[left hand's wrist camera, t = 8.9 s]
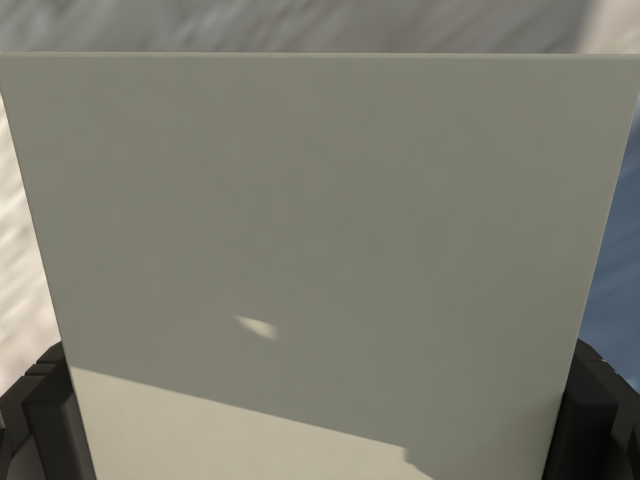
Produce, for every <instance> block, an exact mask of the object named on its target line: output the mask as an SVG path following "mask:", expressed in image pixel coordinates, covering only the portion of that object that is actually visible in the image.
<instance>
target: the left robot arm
mask: <svg viewBox="0 0 640 480" xmlns="http://www.w3.org/2000/svg"><path fill="white" fill-rule="evenodd" d="M0 480H96V478H95V474H94V470H93V466H92V462H91V458H90V454H89V450H88V446H87V442H86V438H85V434H84V430H83V426H82V422H81V417H80V413H79V409H78V405H77V401H76V397H75V393H74V390H73V386H72V381H71V377H70V373H69V369H68V365H67V361H66V357H65V353H64V349H63V345H62V341H60V342H58V343H56V344H55V345H53V346H51V347H50V348H49V349H48V350H47V351H46V352H45V353H44V354H43V355H42V356H41V357H40V358H39V359H38V360H37V361H36V364H33V365H32V366H31V367H30V368H29V369H28V370H27V371H26V372H25V375H24V376H21V377H20V378H19V379H18V380H17V381H16V382H15V383H14V384H13V385H12V386H11V387H10V388H9V389H8V390H7V391H6V392H5V393H4V394H3V395H2V396H1V397H0ZM542 480H640V395H639V394H638V393H637V392H636V391H635V390H634V389H633V388H632V387H631V386H630V385H629V384H628V383H627V382H626V381H625V380H624V379H623V378H622V377H621V376H620V375H619V374H616V371H615V370H614V369H613V368H612V367H611V366H610V365H609V364H608V363H605V362H604V359H603V358H602V357H601V356H600V355H599V354H598V353H597V352H596V351H595V350H594V349H593V348H592V347H591V346H590V345H588V344H586V343H585V342H583V341H581V340H580V339H578V338H577V342H576V346H575V350H574V354H573V358H572V361H571V365H570V369H569V373H568V377H567V381H566V385H565V389H564V393H563V397H562V401H561V405H560V409H559V413H558V417H557V421H556V425H555V429H554V433H553V437H552V441H551V445H550V449H549V453H548V457H547V460H546V464H545V468H544V472H543V476H542Z"/></svg>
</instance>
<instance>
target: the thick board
mask: <svg viewBox="0 0 640 480" xmlns="http://www.w3.org/2000/svg"><path fill="white" fill-rule="evenodd" d="M0 90H1V94H2V99H3V103H4V107H5V111H6V115H7V119H8V123H9V127H10V131H11V135H12V140H13V144H14V148H15V152H16V156H17V160H18V164H19V168H20V172H21V176H22V181H23V185H24V189H25V193H26V197H27V201H28V205H29V209H30V213H31V217H32V222H33V226H34V230H35V234H36V238H37V242H38V246H39V250H40V254H41V258H42V263H43V267H44V271H45V275H46V279H47V283H48V287H49V291H50V295H51V299H52V304H53V308H54V312H55V316H56V320H57V324H58V328H59V332H60V336H61V340H62V345H63V349H64V353H65V357H66V361H67V365H68V369H69V373H70V377H71V381H72V386H73V390H74V393H75V397H76V401H77V405H78V409H79V413H80V417H81V422H82V426H83V430H84V434H85V438H86V442H87V446H88V450H89V454H90V458H91V462H92V466H93V470H94V474H95V478H96V480H542V476H543V472H544V468H545V464H546V460H547V457H548V453H549V449H550V445H551V441H552V437H553V433H554V429H555V425H556V421H557V417H558V413H559V409H560V405H561V401H562V397H563V393H564V389H565V385H566V381H567V377H568V373H569V369H570V365H571V361H572V358H573V354H574V350H575V346H576V342H577V338H578V334H579V330H580V326H581V322H582V318H583V314H584V310H585V306H586V302H587V298H588V294H589V290H590V286H591V282H592V278H593V274H594V270H595V266H596V262H597V259H598V255H599V251H600V247H601V243H602V239H603V235H604V231H605V227H606V223H607V219H608V215H609V211H610V207H611V203H612V199H613V195H614V191H615V187H616V183H617V179H618V175H619V171H620V167H621V164H622V160H623V156H624V152H625V148H626V144H627V140H628V136H629V132H630V128H631V124H632V120H633V116H634V112H635V108H636V104H637V100H638V96H639V92H640V54H505V53H297V52H88V51H0Z"/></svg>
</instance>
